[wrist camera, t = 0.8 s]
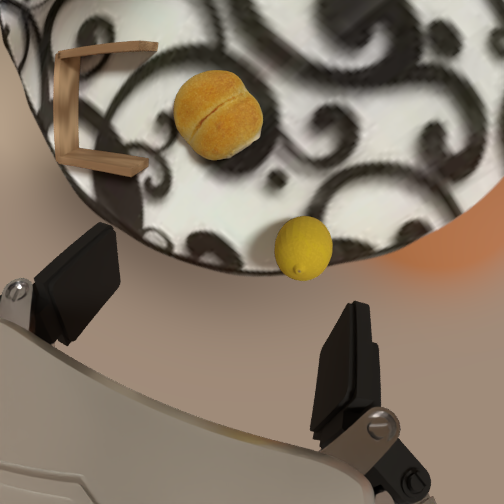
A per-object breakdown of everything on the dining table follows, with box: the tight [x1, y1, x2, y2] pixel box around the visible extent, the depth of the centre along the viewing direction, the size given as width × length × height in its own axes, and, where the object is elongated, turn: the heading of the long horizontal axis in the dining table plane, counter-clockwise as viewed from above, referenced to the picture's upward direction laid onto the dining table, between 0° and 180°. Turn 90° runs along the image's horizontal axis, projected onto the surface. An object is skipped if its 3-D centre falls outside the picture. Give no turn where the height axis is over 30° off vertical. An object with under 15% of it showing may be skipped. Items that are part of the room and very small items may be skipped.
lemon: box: [274, 216, 332, 281], centre depth 28 cm, size 6×6×8 cm
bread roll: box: [174, 70, 263, 160], centre depth 26 cm, size 8×9×4 cm
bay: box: [53, 41, 158, 177], centre depth 27 cm, size 14×12×4 cm
